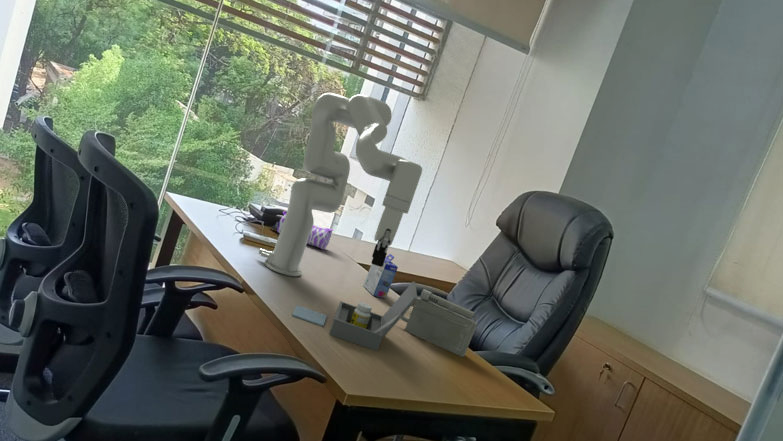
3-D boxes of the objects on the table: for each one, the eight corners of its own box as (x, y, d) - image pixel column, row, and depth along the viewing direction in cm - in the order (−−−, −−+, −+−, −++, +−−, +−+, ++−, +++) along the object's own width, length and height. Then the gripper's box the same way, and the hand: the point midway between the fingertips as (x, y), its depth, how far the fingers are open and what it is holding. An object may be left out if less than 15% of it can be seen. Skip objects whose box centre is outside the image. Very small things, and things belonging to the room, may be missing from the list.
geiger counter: (482, 313, 202) (408, 280, 209) (478, 316, 196) (402, 282, 203) (466, 354, 204) (393, 320, 211) (461, 359, 198) (386, 324, 205)
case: (328, 335, 178) (350, 274, 175) (335, 315, 196) (355, 260, 193) (394, 358, 179) (417, 298, 176) (395, 336, 197) (415, 281, 194)
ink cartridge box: (386, 299, 233) (401, 260, 230) (373, 296, 230) (387, 257, 228) (375, 288, 241) (389, 251, 239) (362, 285, 239) (376, 248, 236)
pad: (291, 315, 182) (292, 314, 182) (296, 306, 191) (297, 305, 191) (323, 326, 183) (323, 325, 183) (326, 316, 192) (327, 315, 191)
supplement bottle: (347, 327, 190) (357, 299, 188) (362, 332, 190) (373, 305, 189) (347, 332, 185) (357, 305, 184) (363, 338, 185) (373, 310, 184)
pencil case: (272, 232, 268) (279, 210, 266) (278, 230, 277) (286, 208, 275) (323, 252, 266) (331, 230, 264) (328, 249, 275) (336, 228, 274)
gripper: (383, 197, 194) (365, 252, 196) (383, 203, 177) (363, 263, 179) (408, 205, 194) (389, 260, 196) (410, 212, 177) (389, 272, 179)
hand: (376, 261), depth 188 cm, fingers open, 9 cm apart
